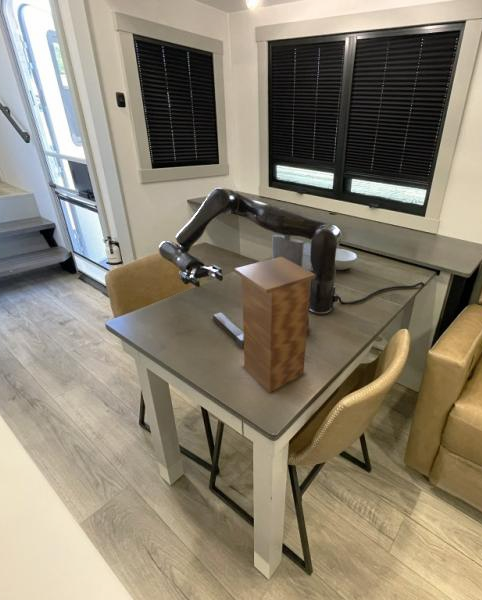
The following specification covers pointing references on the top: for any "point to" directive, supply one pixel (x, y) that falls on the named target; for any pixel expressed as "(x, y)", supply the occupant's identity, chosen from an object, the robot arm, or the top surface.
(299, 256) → the hip flask
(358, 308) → the top surface
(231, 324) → the handle stick
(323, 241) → the robot arm
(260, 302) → the oak stand
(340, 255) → the cereal bowl
